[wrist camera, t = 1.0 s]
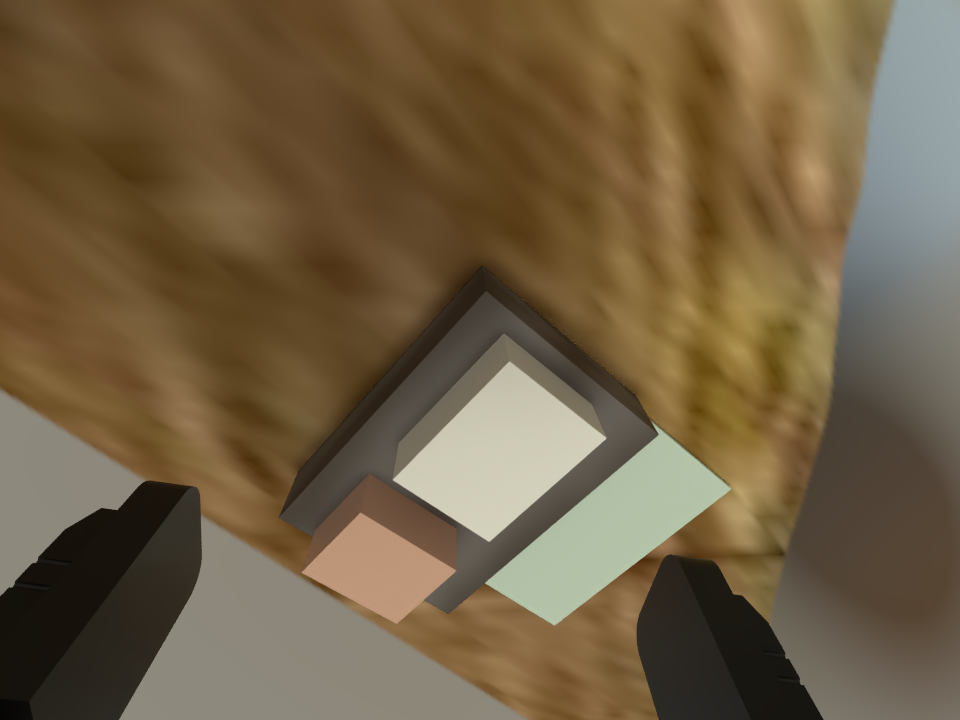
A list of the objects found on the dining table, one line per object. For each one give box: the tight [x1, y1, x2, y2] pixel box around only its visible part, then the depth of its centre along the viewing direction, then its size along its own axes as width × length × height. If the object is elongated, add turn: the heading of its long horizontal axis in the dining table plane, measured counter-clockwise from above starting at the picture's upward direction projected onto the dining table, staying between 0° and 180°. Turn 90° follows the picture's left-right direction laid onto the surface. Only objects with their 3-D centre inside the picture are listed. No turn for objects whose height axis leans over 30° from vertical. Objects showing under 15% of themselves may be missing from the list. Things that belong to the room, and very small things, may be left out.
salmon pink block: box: [302, 474, 457, 624], centre depth 29 cm, size 6×5×3 cm
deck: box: [279, 266, 659, 614], centre depth 31 cm, size 12×17×4 cm
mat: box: [486, 419, 731, 625], centre depth 36 cm, size 9×16×1 cm, turn 139°
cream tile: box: [393, 334, 607, 542], centre depth 27 cm, size 6×8×3 cm
